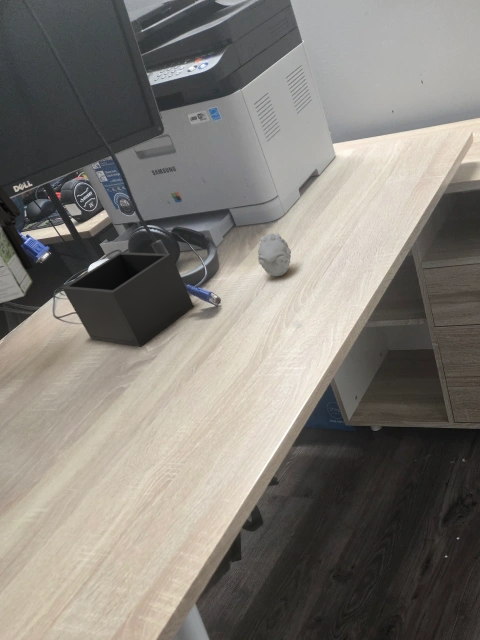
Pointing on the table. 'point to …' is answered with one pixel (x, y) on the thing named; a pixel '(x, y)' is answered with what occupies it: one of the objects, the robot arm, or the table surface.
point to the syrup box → (11, 272)
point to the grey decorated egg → (274, 255)
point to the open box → (129, 297)
